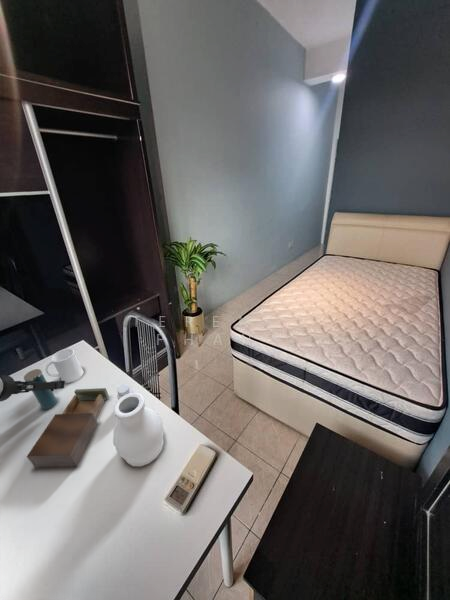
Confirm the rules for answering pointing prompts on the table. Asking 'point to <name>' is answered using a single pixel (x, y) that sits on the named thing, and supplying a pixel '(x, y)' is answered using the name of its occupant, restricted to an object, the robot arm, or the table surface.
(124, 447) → the vase
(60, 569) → the table surface
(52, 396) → the tin
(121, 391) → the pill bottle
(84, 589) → the table surface
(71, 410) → the drawer
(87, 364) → the table surface
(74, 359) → the mug
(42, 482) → the table surface
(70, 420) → the drawer cabinet
